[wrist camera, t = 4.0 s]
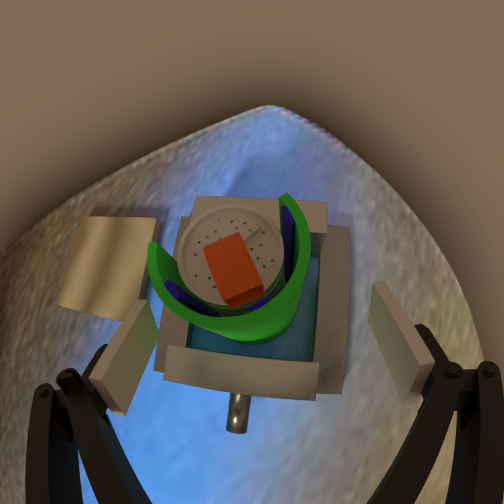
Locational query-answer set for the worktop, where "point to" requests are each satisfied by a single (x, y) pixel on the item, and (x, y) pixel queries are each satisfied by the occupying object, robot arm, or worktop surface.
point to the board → (108, 265)
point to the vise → (259, 368)
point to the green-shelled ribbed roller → (236, 271)
